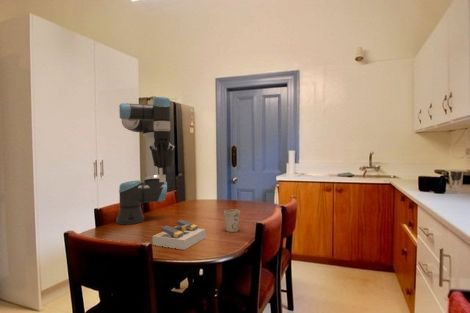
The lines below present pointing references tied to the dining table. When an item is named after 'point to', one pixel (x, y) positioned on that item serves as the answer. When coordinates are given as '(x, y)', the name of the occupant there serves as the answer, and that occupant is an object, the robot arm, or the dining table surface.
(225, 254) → the dining table surface
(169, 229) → the rocker
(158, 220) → the dining table surface
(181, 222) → the rocker
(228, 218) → the mug
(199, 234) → the switch unit
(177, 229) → the rocker
